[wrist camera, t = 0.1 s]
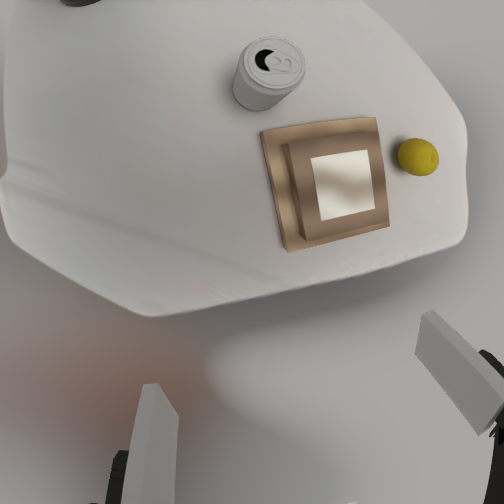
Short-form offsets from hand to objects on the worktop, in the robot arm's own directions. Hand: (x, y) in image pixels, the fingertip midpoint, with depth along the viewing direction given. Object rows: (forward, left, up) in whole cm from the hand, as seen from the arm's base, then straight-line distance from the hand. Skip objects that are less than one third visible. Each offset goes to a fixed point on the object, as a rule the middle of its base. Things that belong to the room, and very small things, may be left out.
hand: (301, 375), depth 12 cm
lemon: (-6, +26, -28) cm, 39 cm away
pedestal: (-4, +13, -28) cm, 31 cm away
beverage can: (-18, +6, -28) cm, 34 cm away
